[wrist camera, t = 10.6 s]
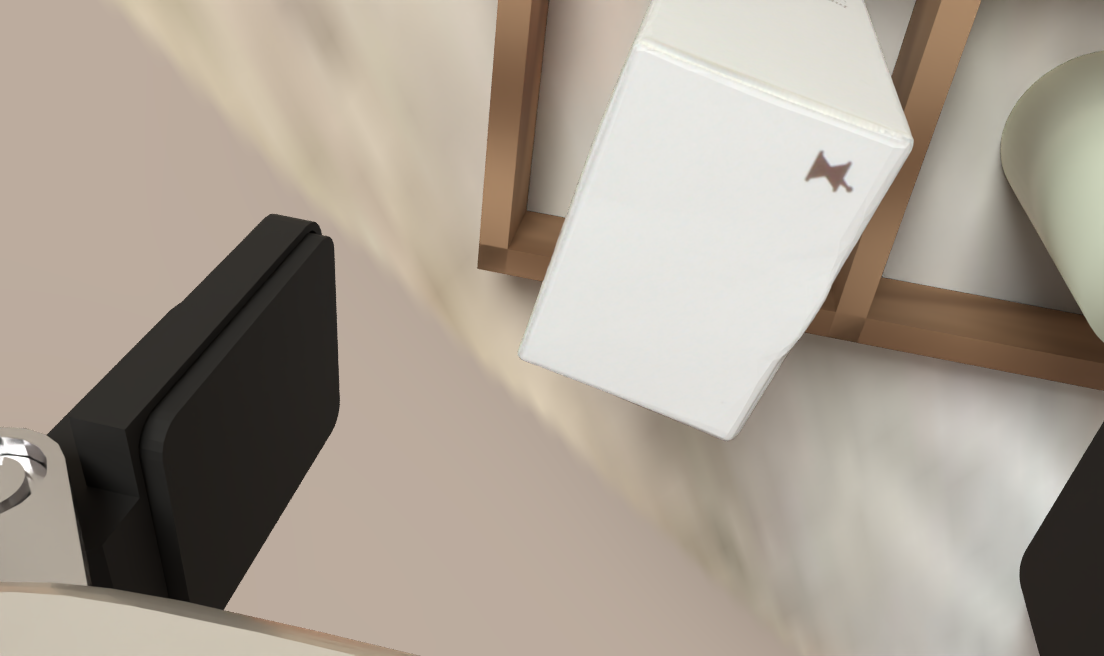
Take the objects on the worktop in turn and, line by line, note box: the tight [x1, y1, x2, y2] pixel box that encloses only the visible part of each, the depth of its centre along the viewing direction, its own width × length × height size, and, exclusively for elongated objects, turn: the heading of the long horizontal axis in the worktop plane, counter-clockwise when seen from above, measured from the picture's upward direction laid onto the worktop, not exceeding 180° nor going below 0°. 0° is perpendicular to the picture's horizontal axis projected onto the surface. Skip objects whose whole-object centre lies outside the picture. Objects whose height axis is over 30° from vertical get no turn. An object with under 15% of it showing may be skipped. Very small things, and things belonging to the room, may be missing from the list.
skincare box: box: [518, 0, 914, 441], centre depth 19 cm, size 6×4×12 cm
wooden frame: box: [477, 0, 1104, 391], centre depth 23 cm, size 12×20×2 cm, turn 83°
